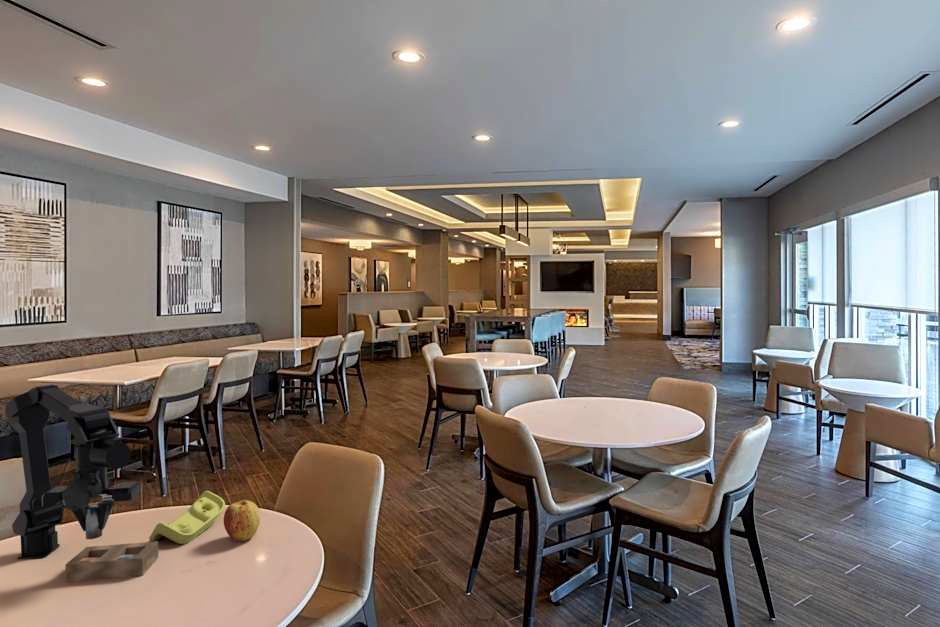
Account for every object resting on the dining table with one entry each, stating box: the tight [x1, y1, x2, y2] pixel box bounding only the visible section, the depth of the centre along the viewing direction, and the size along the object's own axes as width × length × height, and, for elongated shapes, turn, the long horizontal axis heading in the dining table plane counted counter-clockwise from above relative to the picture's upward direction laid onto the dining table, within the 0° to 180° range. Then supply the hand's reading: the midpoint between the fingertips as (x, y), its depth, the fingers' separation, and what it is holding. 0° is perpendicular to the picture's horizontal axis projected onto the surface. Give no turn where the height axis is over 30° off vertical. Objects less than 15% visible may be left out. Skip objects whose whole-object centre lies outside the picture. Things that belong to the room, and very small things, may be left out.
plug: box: [85, 503, 103, 540], centre depth 130 cm, size 3×3×7 cm
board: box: [64, 540, 159, 583], centre depth 131 cm, size 16×9×4 cm, turn 99°
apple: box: [223, 499, 261, 542], centre depth 147 cm, size 9×9×10 cm
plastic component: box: [148, 490, 226, 545], centre depth 153 cm, size 20×7×10 cm
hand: (93, 529), depth 130 cm, fingers closed on plug, 3 cm apart
